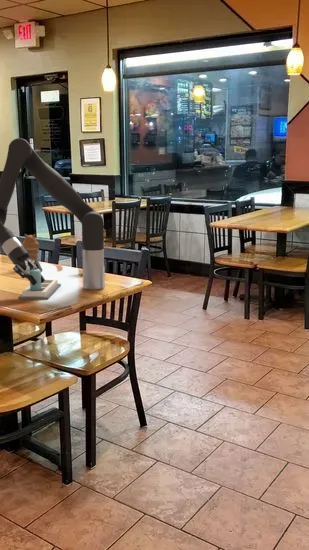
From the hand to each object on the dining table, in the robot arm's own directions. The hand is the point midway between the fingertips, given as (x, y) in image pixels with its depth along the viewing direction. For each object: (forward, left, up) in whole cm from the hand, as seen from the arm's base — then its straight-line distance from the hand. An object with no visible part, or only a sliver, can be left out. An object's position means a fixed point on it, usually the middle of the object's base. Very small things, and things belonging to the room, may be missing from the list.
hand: (39, 282), depth 217 cm
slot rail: (+2, -8, -6) cm, 10 cm away
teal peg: (+2, -1, -4) cm, 5 cm away
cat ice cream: (+19, -58, -6) cm, 61 cm away
